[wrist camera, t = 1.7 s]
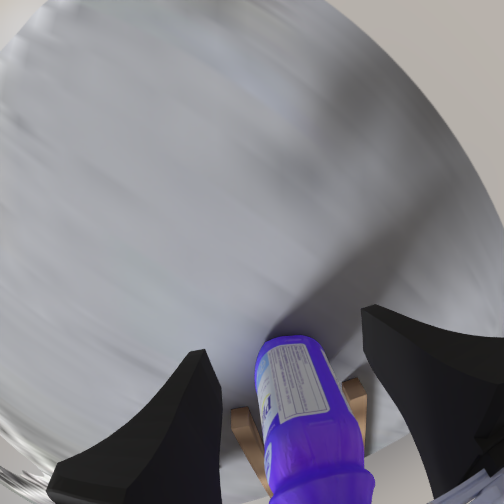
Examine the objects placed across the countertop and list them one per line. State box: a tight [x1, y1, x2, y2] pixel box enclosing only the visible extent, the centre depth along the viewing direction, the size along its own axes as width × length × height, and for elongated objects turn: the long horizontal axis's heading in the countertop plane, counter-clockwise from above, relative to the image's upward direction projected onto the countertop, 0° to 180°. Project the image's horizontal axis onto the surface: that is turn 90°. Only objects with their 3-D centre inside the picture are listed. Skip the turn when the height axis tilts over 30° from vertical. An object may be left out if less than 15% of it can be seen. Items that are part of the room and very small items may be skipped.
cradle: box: [231, 377, 367, 498], centre depth 25 cm, size 19×12×2 cm, turn 14°
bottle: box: [255, 335, 375, 504], centre depth 14 cm, size 7×6×17 cm
